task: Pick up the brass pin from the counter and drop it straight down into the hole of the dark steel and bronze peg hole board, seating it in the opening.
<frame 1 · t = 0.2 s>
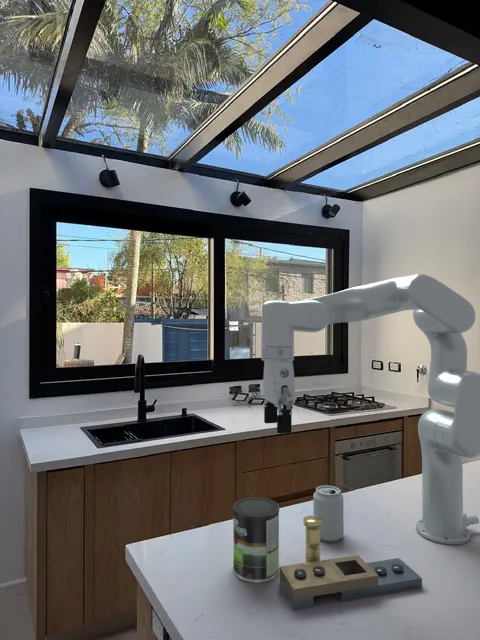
hand: (277, 427, 103), 30 cm above the worktop, tool pointing down, fingers open, 9 cm apart
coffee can: (256, 570, 98), on the worktop
can: (328, 536, 113), on the worktop
pin: (313, 563, 100), on the worktop
peg hole board: (350, 586, 91), on the worktop
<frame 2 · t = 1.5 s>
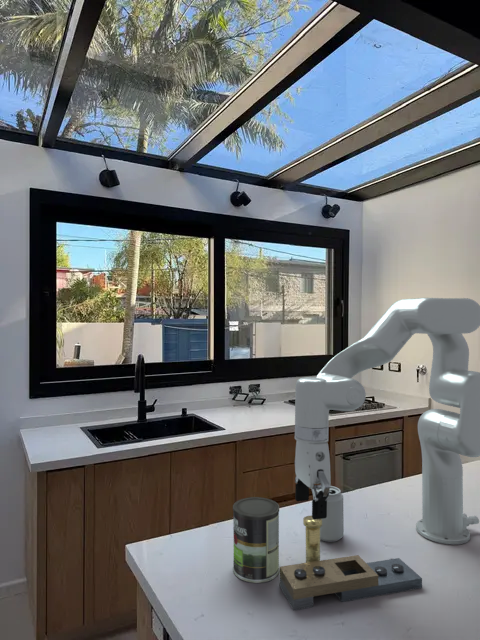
hand: (310, 508, 100), 12 cm above the worktop, tool pointing down, fingers open, 9 cm apart
nothing on the worktop moved.
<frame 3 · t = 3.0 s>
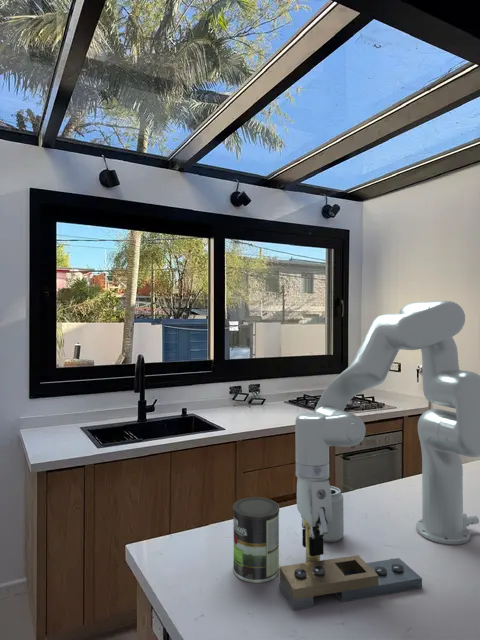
hand: (312, 549, 100), 3 cm above the worktop, tool pointing down, fingers closed on pin, 3 cm apart
pin: (312, 563, 100), on the worktop, touching gripper
everything else where it was.
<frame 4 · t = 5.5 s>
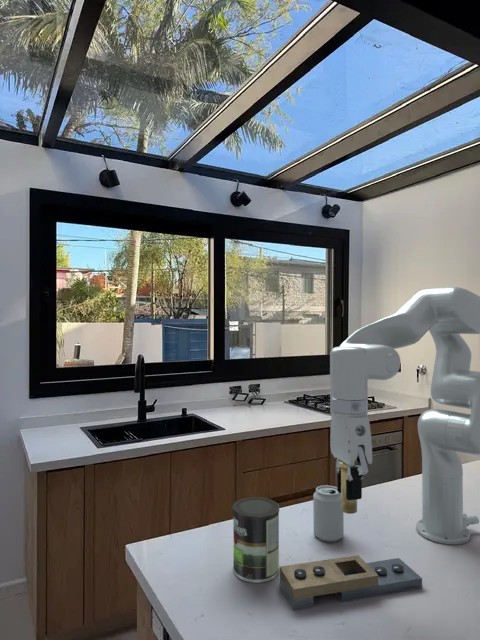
hand: (349, 494, 91), 19 cm above the worktop, tool pointing down, fingers closed on pin, 3 cm apart
pin: (349, 510, 91), point 16 cm above the worktop, touching gripper
everything else where it was.
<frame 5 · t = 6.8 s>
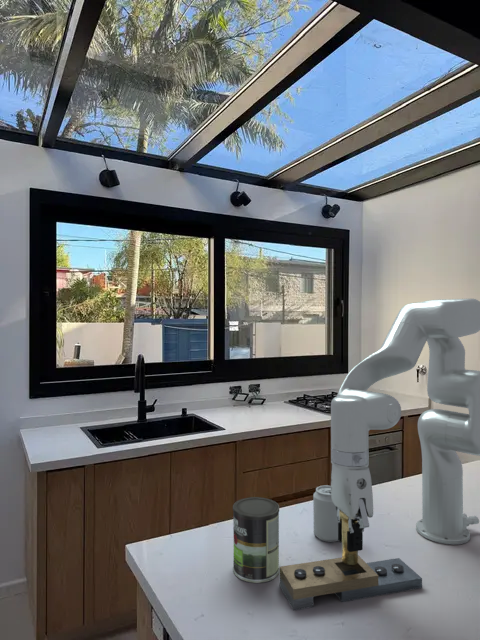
hand: (350, 544, 91), 9 cm above the worktop, tool pointing down, fingers closed on pin, 3 cm apart
pin: (349, 560, 91), point 5 cm above the worktop, touching gripper
everything else where it was.
when the fingers open (5 cm above the worktop, at t = 7.9 s): pin drops 1 cm, resting in peg hole board.
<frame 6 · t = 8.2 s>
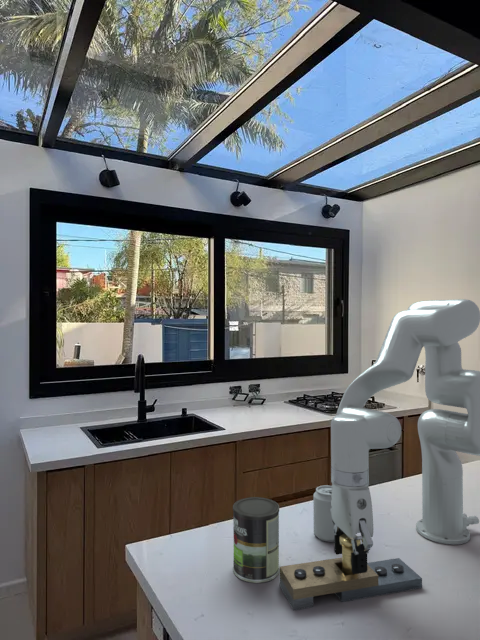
hand: (350, 561, 91), 5 cm above the worktop, tool pointing down, fingers open, 6 cm apart
pin: (350, 587, 91), resting in peg hole board
everything else where it was.
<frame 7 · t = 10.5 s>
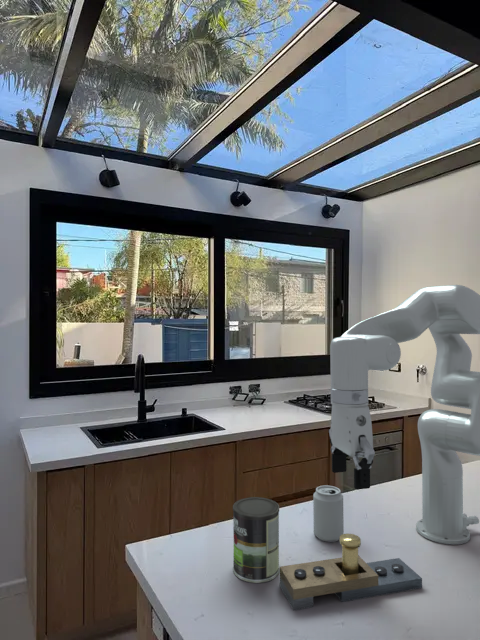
hand: (350, 479, 91), 22 cm above the worktop, tool pointing down, fingers open, 9 cm apart
nothing on the worktop moved.
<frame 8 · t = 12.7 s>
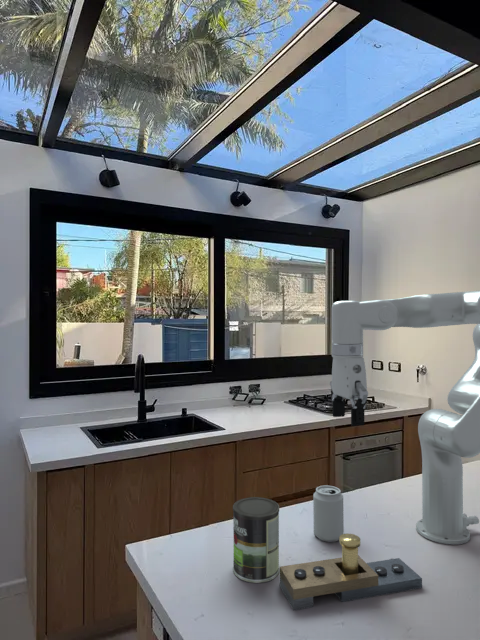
hand: (347, 420, 109), 30 cm above the worktop, tool pointing down, fingers open, 9 cm apart
nothing on the worktop moved.
at the end: pin 0.0 cm off-centre on the peg hole board, point 0.0 cm above the peg hole board's base; pin tilted 0°; the gripper is holding nothing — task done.
